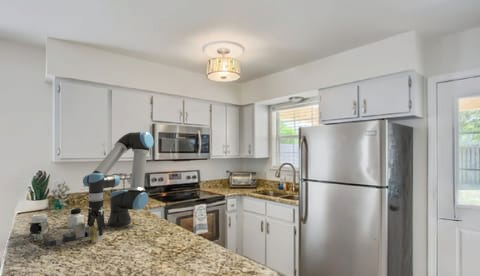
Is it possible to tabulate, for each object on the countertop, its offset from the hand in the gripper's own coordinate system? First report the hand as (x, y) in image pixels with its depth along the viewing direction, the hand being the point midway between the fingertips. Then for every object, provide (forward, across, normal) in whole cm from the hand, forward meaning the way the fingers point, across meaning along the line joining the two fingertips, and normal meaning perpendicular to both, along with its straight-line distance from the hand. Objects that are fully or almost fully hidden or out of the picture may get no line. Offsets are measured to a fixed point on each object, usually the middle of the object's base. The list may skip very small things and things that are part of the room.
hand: (95, 239), depth 158 cm
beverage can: (0, -41, -15) cm, 44 cm away
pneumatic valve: (0, -28, -19) cm, 34 cm away
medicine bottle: (0, -42, +6) cm, 42 cm away
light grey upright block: (0, -13, -4) cm, 14 cm away
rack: (0, -13, -9) cm, 16 cm away
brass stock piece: (0, 0, 0) cm, 0 cm away
